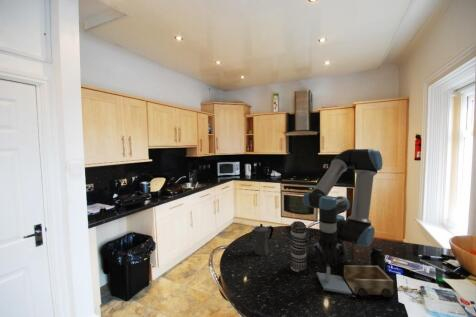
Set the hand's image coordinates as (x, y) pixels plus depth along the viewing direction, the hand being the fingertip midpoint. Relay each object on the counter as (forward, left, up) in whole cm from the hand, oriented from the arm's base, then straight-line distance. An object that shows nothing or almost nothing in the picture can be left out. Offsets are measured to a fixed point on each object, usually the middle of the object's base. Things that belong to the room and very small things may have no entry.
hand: (327, 279), depth 103 cm
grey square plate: (+8, +4, -3) cm, 9 cm away
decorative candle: (-16, +10, -4) cm, 19 cm away
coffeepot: (-40, +18, -4) cm, 44 cm away
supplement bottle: (+21, +26, -4) cm, 33 cm away
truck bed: (+16, +8, -3) cm, 18 cm away
